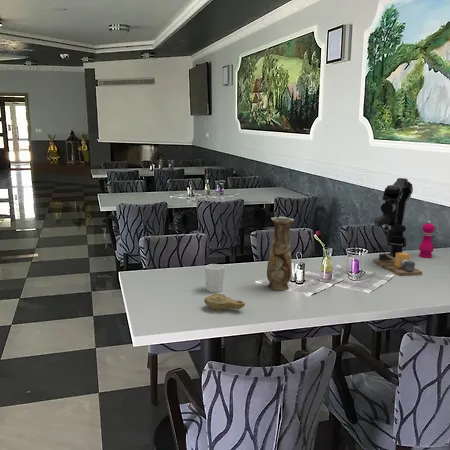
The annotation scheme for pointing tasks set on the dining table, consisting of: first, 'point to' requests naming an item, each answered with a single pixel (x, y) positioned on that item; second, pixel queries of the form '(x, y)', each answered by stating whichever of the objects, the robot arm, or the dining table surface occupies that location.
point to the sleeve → (401, 258)
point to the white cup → (214, 277)
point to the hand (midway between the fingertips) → (388, 242)
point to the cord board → (389, 264)
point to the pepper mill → (427, 241)
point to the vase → (280, 255)
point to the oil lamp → (223, 302)
